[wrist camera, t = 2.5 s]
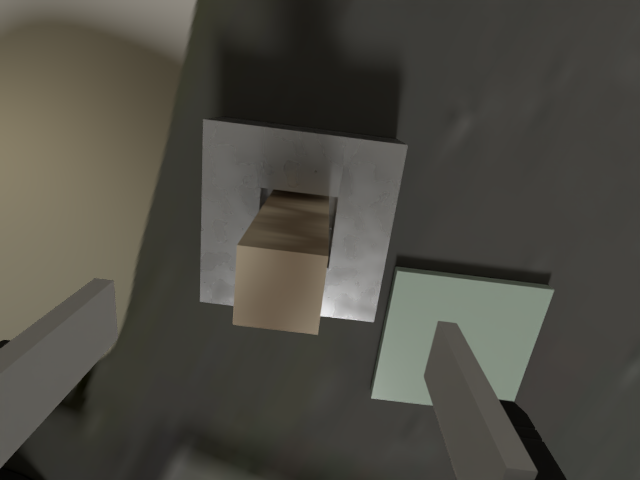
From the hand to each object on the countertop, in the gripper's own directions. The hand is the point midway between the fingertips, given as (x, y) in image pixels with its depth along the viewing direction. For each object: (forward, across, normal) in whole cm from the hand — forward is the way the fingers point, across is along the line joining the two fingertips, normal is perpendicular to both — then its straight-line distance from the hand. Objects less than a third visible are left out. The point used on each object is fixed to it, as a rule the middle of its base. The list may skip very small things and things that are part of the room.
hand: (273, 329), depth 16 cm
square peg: (+18, 0, 0) cm, 18 cm away
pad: (+19, -16, +11) cm, 27 cm away
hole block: (+19, 0, 0) cm, 19 cm away
